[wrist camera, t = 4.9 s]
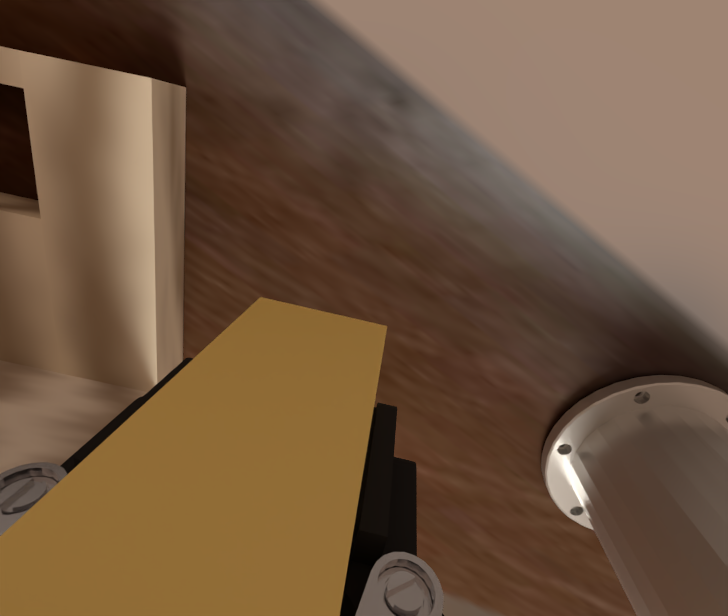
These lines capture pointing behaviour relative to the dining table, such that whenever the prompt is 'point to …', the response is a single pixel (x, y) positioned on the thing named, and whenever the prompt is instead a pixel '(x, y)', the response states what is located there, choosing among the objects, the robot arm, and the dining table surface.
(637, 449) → the robot arm
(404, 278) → the dining table surface
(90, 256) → the green-topped stand
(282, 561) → the peg
